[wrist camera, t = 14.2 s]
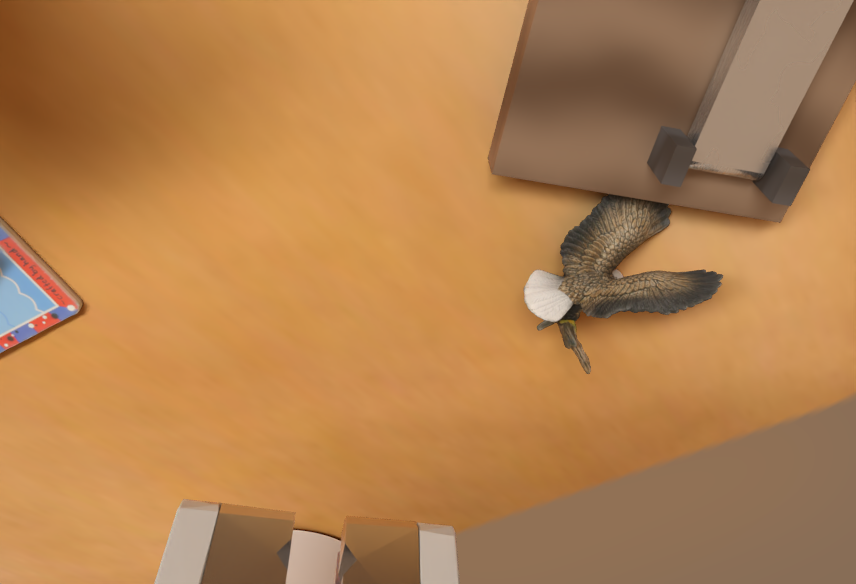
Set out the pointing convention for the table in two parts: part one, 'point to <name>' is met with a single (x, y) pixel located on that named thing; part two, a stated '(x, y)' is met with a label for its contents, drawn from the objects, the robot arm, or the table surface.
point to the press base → (647, 104)
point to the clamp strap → (762, 83)
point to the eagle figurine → (612, 272)
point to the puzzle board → (29, 291)
